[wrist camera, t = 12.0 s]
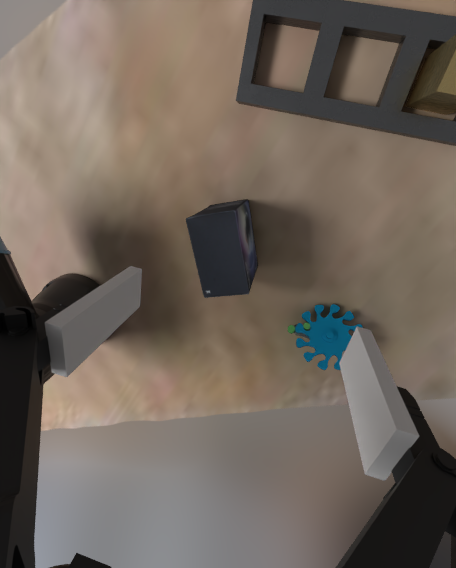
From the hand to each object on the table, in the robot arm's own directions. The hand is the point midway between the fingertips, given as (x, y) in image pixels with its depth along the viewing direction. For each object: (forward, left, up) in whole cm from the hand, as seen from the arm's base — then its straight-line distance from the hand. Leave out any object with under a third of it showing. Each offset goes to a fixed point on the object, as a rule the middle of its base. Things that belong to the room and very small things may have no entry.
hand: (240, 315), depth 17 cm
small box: (-5, -3, -27) cm, 27 cm away
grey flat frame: (+5, +19, -26) cm, 33 cm away
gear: (+12, -14, -27) cm, 32 cm away
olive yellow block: (+13, +19, -26) cm, 35 cm away
